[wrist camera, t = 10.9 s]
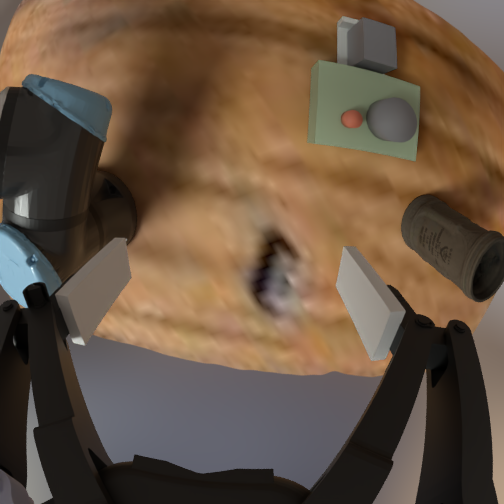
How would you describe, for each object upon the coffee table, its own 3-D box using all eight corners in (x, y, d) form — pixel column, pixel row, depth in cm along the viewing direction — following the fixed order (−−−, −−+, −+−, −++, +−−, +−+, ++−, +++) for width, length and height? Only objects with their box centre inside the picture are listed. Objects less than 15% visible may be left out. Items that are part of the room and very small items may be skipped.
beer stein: (397, 256, 45) (464, 318, 27) (395, 200, 41) (478, 245, 22) (453, 237, 44) (520, 282, 26) (454, 186, 40) (532, 219, 22)
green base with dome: (307, 142, 37) (322, 144, 29) (312, 17, 29) (326, -7, 21) (399, 157, 38) (430, 165, 30) (402, 42, 29) (431, 29, 21)
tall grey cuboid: (347, 69, 32) (364, 58, 26) (346, 32, 29) (362, 17, 23) (376, 76, 32) (397, 68, 26) (375, 39, 29) (395, 27, 23)
